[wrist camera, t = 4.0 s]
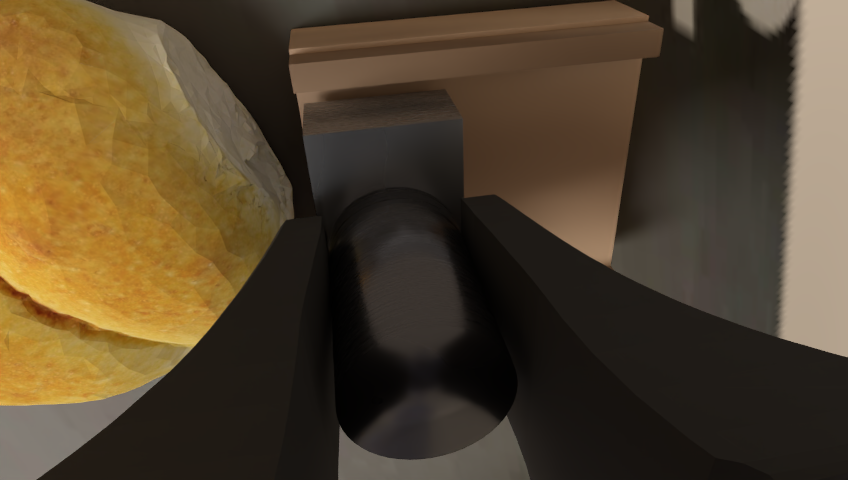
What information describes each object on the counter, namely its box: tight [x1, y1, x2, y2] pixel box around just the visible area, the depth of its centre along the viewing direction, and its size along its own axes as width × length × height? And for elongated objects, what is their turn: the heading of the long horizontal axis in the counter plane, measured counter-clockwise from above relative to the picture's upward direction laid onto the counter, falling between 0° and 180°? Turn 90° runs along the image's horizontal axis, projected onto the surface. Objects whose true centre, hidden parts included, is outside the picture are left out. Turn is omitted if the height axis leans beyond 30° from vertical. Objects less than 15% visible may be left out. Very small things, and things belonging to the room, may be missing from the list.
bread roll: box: [0, 0, 294, 405], centre depth 11 cm, size 8×9×4 cm
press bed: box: [289, 0, 664, 270], centre depth 13 cm, size 6×7×2 cm
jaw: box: [303, 89, 518, 460], centre depth 10 cm, size 5×3×5 cm, turn 3°
